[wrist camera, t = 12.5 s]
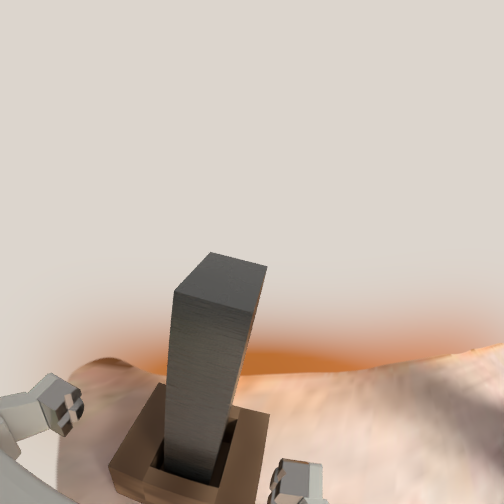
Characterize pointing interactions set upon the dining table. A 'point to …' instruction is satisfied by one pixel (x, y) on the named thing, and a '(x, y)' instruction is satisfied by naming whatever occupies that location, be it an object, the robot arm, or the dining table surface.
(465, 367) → the dining table surface
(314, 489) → the robot arm
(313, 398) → the dining table surface
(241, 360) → the gray rectangular bar
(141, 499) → the brown square socket block
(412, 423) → the dining table surface
